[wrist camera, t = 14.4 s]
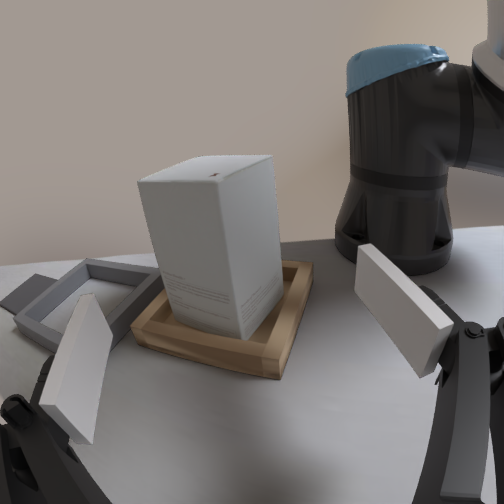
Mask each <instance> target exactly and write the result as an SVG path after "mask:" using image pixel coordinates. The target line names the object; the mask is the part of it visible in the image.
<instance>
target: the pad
mask: <svg viewBox="0 0 504 504" xmlns="http://www.w3.org/2000/svg"><path fill="white" fill-rule="evenodd" d="M56 281H58V280H56V279H53V278H49V277H46V276H42V275H39V274H34V275H33V276H32V277H30V278H29V279H28V280H27V281H25V282H24V283H23V284H21V285H20V286H19V287H18V288H16V289H15V290H14V291H13V292H11V293H10V294H9V295H8V296H6V297H5V298H4V299H3V300H2V301H0V306H2V307H3V308H5V309H7V310H8V311H10V312H11V313H13V314H15V315H17V314H18V313H19V312H20V311H22V310H23V309H24V308H25V307H26V306H27V305H29V304H30V303H31V302H32V301H33V300H34V299H36V298H37V297H38V296H39V295H40V294H42V293H43V292H44V291H45V290H46V289H48V288H49V287H50V286H51V285H53V284H54V283H55V282H56Z"/></svg>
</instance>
